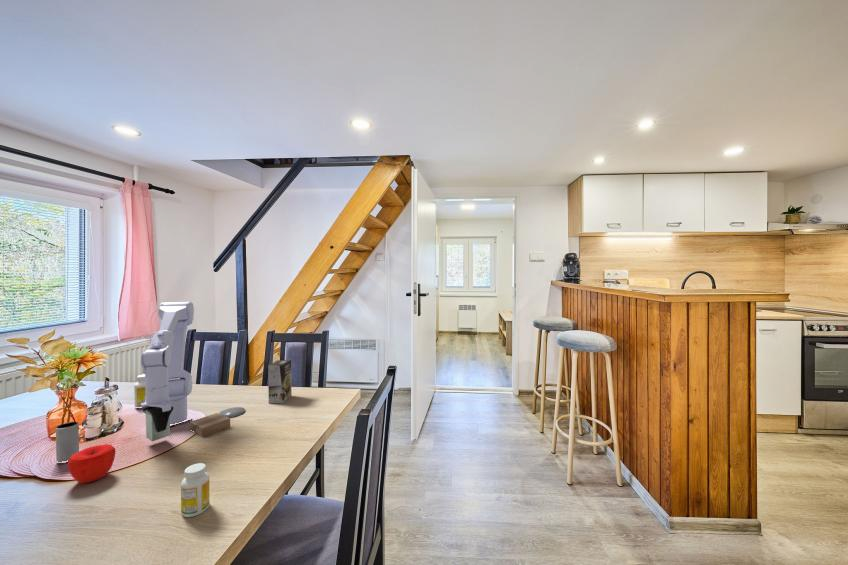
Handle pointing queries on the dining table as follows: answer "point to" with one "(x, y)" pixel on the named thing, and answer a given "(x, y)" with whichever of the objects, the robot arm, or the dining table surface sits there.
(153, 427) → the tea tin
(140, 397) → the supplement bottle
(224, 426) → the tan flat square block
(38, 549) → the dining table surface
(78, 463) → the apple
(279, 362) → the coffee box
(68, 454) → the grey tin can
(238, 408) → the slate coaster
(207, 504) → the supplement bottle
